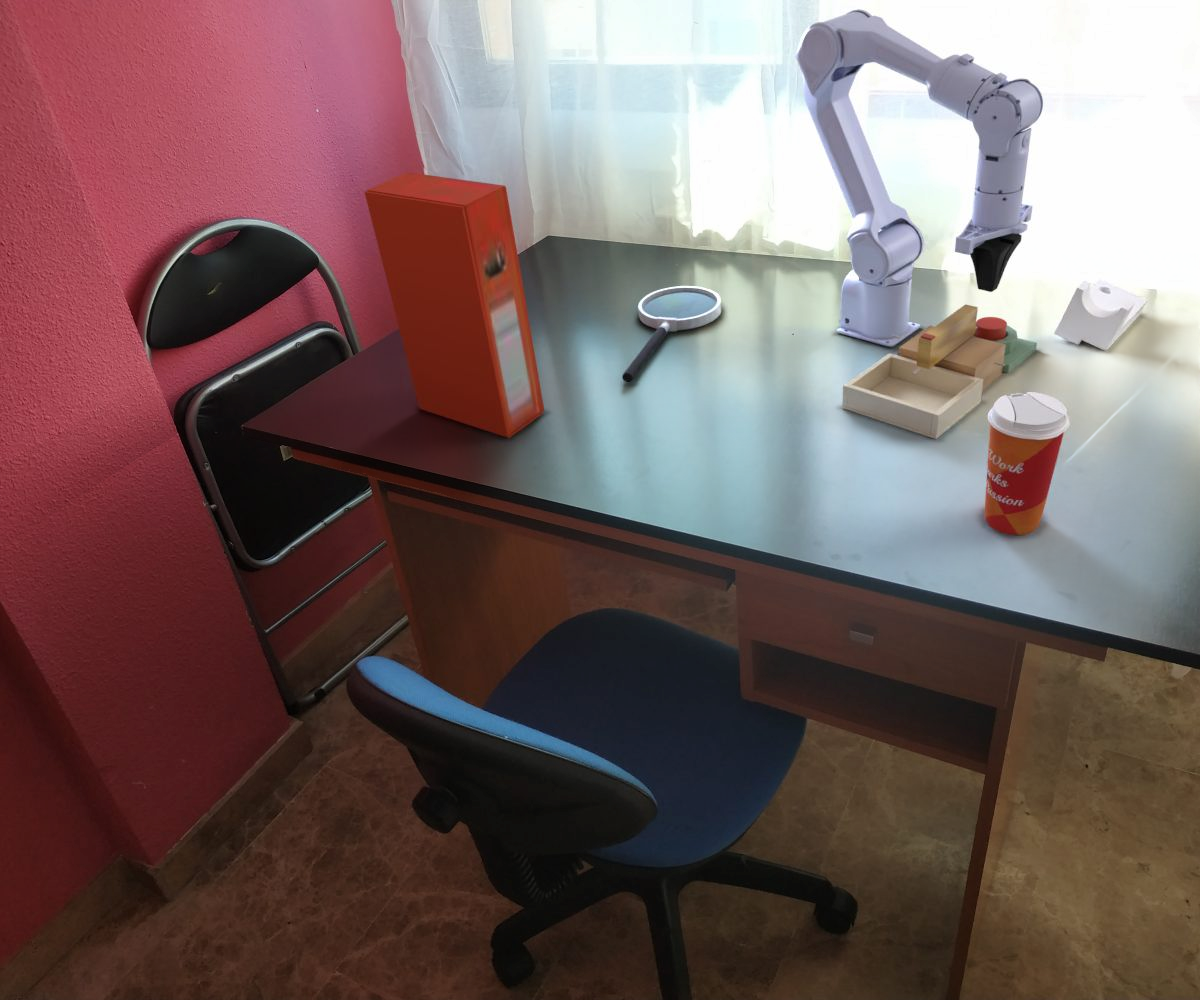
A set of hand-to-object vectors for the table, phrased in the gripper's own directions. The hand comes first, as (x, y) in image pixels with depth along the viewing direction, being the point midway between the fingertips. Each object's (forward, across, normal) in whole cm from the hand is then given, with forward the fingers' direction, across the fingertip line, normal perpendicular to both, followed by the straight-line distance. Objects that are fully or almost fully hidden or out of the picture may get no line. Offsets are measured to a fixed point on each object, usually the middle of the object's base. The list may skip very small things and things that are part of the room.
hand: (987, 288), depth 131 cm
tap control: (+10, +2, 0) cm, 11 cm away
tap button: (+8, +2, 0) cm, 8 cm away
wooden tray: (+10, -16, 0) cm, 19 cm away
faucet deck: (+10, -8, 0) cm, 13 cm away
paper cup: (+11, -30, -23) cm, 39 cm away
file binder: (+10, -54, +45) cm, 71 cm away
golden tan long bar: (+6, -8, 0) cm, 10 cm away
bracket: (+11, +18, -8) cm, 22 cm away
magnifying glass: (+10, -21, +41) cm, 47 cm away
